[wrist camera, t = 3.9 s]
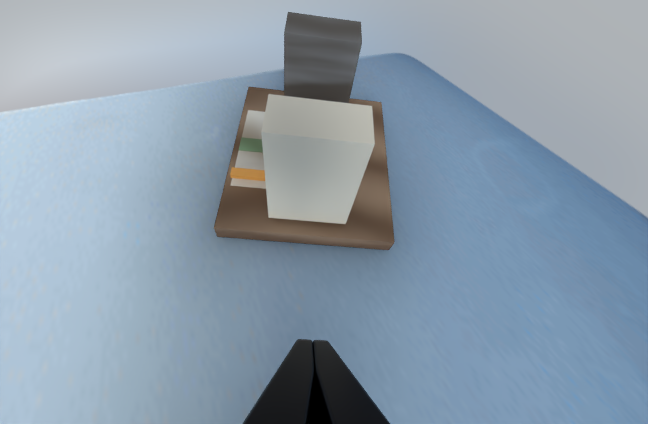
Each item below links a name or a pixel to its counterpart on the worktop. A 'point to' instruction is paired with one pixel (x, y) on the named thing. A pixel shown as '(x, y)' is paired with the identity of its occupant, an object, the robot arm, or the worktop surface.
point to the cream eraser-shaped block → (314, 157)
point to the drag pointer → (247, 174)
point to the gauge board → (360, 219)
